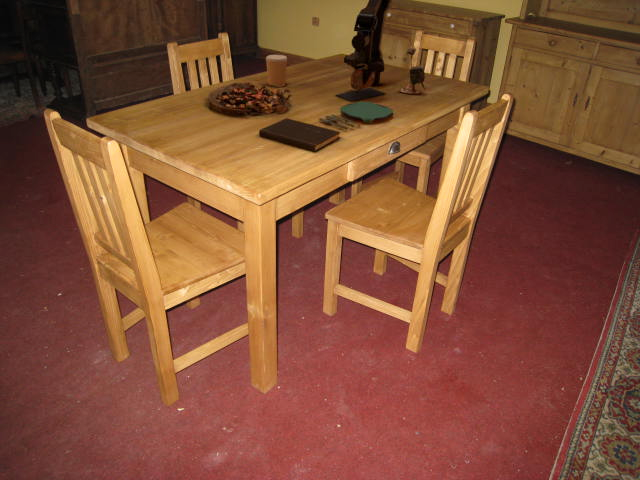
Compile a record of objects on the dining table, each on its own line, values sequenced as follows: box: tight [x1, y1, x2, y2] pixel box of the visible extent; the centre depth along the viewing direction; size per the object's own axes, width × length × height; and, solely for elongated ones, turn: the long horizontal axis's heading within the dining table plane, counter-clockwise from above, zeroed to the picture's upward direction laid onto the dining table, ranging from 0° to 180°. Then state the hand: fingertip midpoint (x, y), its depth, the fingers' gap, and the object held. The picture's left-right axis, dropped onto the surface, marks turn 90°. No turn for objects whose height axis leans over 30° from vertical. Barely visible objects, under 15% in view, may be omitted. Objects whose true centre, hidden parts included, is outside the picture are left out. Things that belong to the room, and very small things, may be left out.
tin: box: [350, 67, 375, 91], centre depth 220 cm, size 15×3×8 cm, turn 140°
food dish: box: [206, 82, 293, 117], centre depth 205 cm, size 35×33×8 cm
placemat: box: [335, 87, 386, 103], centre depth 223 cm, size 20×10×1 cm, turn 130°
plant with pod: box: [399, 45, 426, 95], centre depth 223 cm, size 8×11×20 cm
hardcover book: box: [258, 117, 341, 152], centre depth 177 cm, size 16×23×2 cm
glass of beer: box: [265, 54, 288, 88], centre depth 229 cm, size 9×9×12 cm
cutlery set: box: [318, 101, 394, 131], centre depth 196 cm, size 20×30×2 cm, turn 134°
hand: (361, 83), depth 220 cm, fingers closed on tin, 3 cm apart
